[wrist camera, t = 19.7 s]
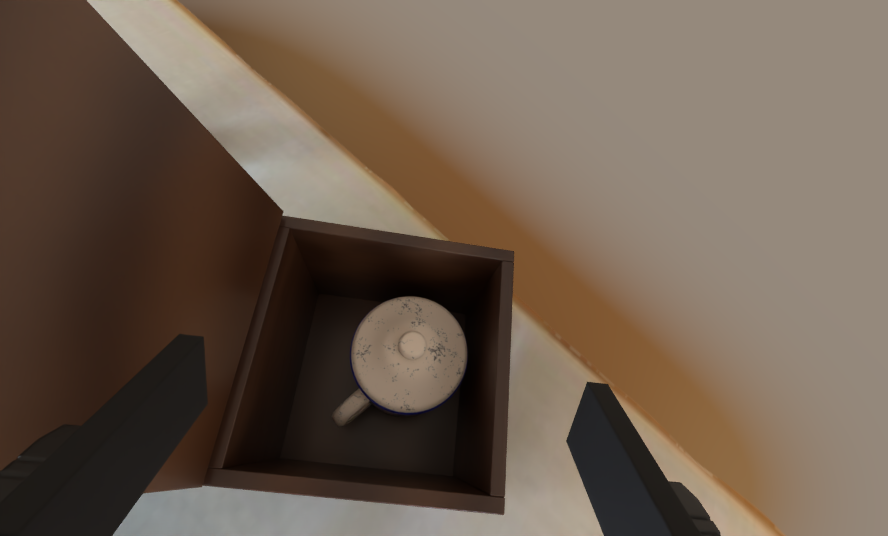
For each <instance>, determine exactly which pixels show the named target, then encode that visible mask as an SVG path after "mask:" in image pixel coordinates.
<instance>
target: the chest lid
mask: <svg viewBox="0 0 888 536" xmlns="http://www.w3.org/2000/svg"><path fill="white" fill-rule="evenodd" d="M282 215H283V211H282V210H281V208H280V207H279V206H278V205H277V204H276V203H275V202H274V201H273V200H272V199H271V198H270V197H269V196H268V195H267V193H266V192H265V191H264V190H263V189H262V188H261V187H260V186H259V185H258V184H257V183H256V182H255V181H254V180H253V178H252V177H251V176H250V175H249V174H248V173H247V172H246V171H245V170H244V169H243V168H242V167H241V166H240V165H239V163H238V162H237V161H236V160H235V159H234V158H233V157H232V156H231V155H230V154H229V153H228V152H227V151H226V149H225V148H224V147H223V146H222V145H221V144H220V143H219V142H218V141H217V140H216V139H215V138H214V137H213V136H212V134H211V133H210V132H209V131H208V130H207V129H206V128H205V127H204V126H203V125H202V124H201V123H200V122H199V121H198V119H197V118H196V117H195V116H194V115H193V114H192V113H191V112H190V111H189V110H188V109H187V108H186V107H185V106H184V104H183V103H182V102H181V101H180V100H179V99H178V98H177V97H176V96H175V95H174V94H173V93H172V92H171V91H170V89H169V88H168V87H167V86H166V85H165V84H164V83H163V82H162V81H161V80H160V79H159V78H158V77H157V75H156V74H155V73H154V72H153V71H152V70H151V69H150V68H149V67H148V66H147V65H146V64H145V63H144V62H143V60H142V59H141V58H140V57H139V56H138V55H137V54H136V53H135V52H134V51H133V50H132V49H131V48H130V47H129V45H128V44H127V43H126V42H125V41H124V40H123V39H122V38H121V37H120V36H119V35H118V34H117V33H116V32H115V30H114V29H113V28H112V27H111V26H110V25H109V24H108V23H107V22H106V21H105V20H104V19H103V18H102V17H101V15H100V14H99V13H98V12H97V11H96V10H95V9H94V8H93V7H92V6H91V5H90V4H89V3H88V2H87V0H0V471H1V470H3V469H4V468H5V467H6V466H7V465H8V464H10V463H11V462H12V461H13V460H16V459H17V457H18V456H19V455H20V454H21V453H22V452H23V451H24V450H26V449H27V448H28V447H29V446H30V445H31V444H33V443H34V442H35V441H36V440H37V439H38V438H40V437H42V436H44V435H46V434H47V433H49V432H51V431H53V430H55V429H57V428H58V427H60V426H62V425H64V424H69V425H79V426H82V425H83V424H84V423H85V422H86V421H87V420H88V419H89V418H90V417H91V416H92V415H94V414H95V413H96V412H97V411H98V410H99V409H100V408H101V407H102V406H103V405H104V404H105V403H106V402H107V401H108V400H109V399H111V398H112V397H113V396H114V395H115V394H116V393H117V392H118V391H119V390H120V389H121V388H122V387H123V386H124V385H125V384H126V383H128V382H129V381H130V380H131V379H132V378H133V377H134V376H135V375H136V374H137V373H138V372H139V371H140V370H141V369H142V368H143V367H145V366H146V365H147V364H148V363H149V362H150V361H151V360H152V359H153V358H154V357H155V356H156V355H157V354H158V353H159V352H161V351H162V350H163V349H164V348H165V347H166V346H167V345H168V344H169V343H170V342H171V341H172V340H173V339H174V338H175V337H176V336H178V335H179V334H186V335H194V336H203V337H204V347H205V364H206V380H207V396H208V404H207V406H206V407H205V408H204V410H203V411H202V413H201V414H200V415H199V417H198V418H197V419H196V421H195V422H194V424H193V425H192V426H191V428H190V429H189V430H188V432H187V433H186V435H185V436H184V437H183V439H182V440H181V441H180V443H179V444H178V446H177V447H176V448H175V450H174V451H173V452H172V454H171V455H170V457H169V458H168V459H167V461H166V462H165V463H164V465H163V466H162V468H161V469H160V470H159V472H158V473H157V474H156V476H155V477H154V479H153V480H152V481H151V483H150V484H149V486H148V487H147V488H146V490H145V491H144V492H143V493H151V492H160V491H170V490H179V489H188V488H198V487H202V485H203V482H204V478H205V475H206V471H207V468H208V465H209V461H210V458H211V455H212V451H213V448H214V444H215V441H216V438H217V434H218V431H219V428H220V424H221V421H222V417H223V414H224V411H225V407H226V404H227V400H228V397H229V394H230V390H231V387H232V384H233V380H234V377H235V373H236V370H237V367H238V363H239V360H240V357H241V353H242V350H243V346H244V343H245V340H246V336H247V333H248V329H249V326H250V323H251V319H252V316H253V313H254V309H255V306H256V302H257V299H258V296H259V292H260V289H261V286H262V282H263V279H264V275H265V272H266V269H267V265H268V262H269V259H270V255H271V252H272V248H273V245H274V242H275V238H276V235H277V231H278V228H279V225H280V221H281V218H282Z"/></svg>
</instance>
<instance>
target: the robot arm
mask: <svg viewBox="0 0 888 536" xmlns="http://www.w3.org/2000/svg"><path fill="white" fill-rule="evenodd" d="M207 404H208V396H207V380H206V364H205V347H204V337H203V336H194V335H186V334H179V335H178V336H176V337H175V338H174V339H173V340H172V341H171V342H170V343H169V344H168V345H167V346H166V347H165V348H164V349H163V350H162V351H161V352H159V353H158V354H157V355H156V356H155V357H154V358H153V359H152V360H151V361H150V362H149V363H148V364H147V365H146V366H145V367H143V368H142V369H141V370H140V371H139V372H138V373H137V374H136V375H135V376H134V377H133V378H132V379H131V380H130V381H129V382H128V383H126V384H125V385H124V386H123V387H122V388H121V389H120V390H119V391H118V392H117V393H116V394H115V395H114V396H113V397H112V398H111V399H109V400H108V401H107V402H106V403H105V404H104V405H103V406H102V407H101V408H100V409H99V410H98V411H97V412H96V413H95V414H94V415H92V416H91V417H90V418H89V419H88V420H87V421H86V422H85V423H84V424H83V425H82V426H79V425H69V424H64V425H62V426H60V427H58V428H57V429H55V430H53V431H51V432H49V433H47V434H46V435H44V436H42V437H40V438H38V439H37V440H36V441H35V442H34V443H33V444H31V445H30V446H29V447H28V448H27V449H26V450H24V451H23V452H22V453H21V454H20V455H19V456H18V457H17V459H16V460H13V461H12V462H11V463H10V464H8V465H7V466H6V467H5V468H4V469H3V470H1V471H0V536H112V535H113V534H114V532H115V531H116V530H117V528H118V527H119V525H120V524H121V523H122V521H123V520H124V519H125V517H126V516H127V514H128V513H129V512H130V510H131V509H132V508H133V506H134V505H135V503H136V502H137V501H138V499H139V498H140V497H141V495H142V494H143V492H144V491H145V490H146V488H147V487H148V486H149V484H150V483H151V481H152V480H153V479H154V477H155V476H156V474H157V473H158V472H159V470H160V469H161V468H162V466H163V465H164V463H165V462H166V461H167V459H168V458H169V457H170V455H171V454H172V452H173V451H174V450H175V448H176V447H177V446H178V444H179V443H180V441H181V440H182V439H183V437H184V436H185V435H186V433H187V432H188V430H189V429H190V428H191V426H192V425H193V424H194V422H195V421H196V419H197V418H198V417H199V415H200V414H201V413H202V411H203V410H204V408H205V407H206V406H207ZM566 441H567V444H568V446H569V449H570V451H571V454H572V456H573V459H574V461H575V464H576V466H577V469H578V471H579V474H580V477H581V479H582V482H583V484H584V487H585V489H586V492H587V494H588V497H589V499H590V502H591V504H592V507H593V509H594V512H595V514H596V517H597V519H598V522H599V524H600V527H601V529H602V532H603V534H604V536H721V535H720V531H719V530H718V528H717V527H716V525H715V524H714V522H713V521H711V520H710V516H709V515H708V513H707V512H706V510H705V509H704V507H703V506H702V504H701V503H700V502H699V500H698V499H697V498H696V497H695V496H694V495H693V494H692V493H691V492H690V491H689V490H688V489H687V488H686V487H685V486H684V485H683V484H682V483H680V482H669V481H668V480H667V479H666V477H665V475H664V474H663V472H662V471H661V469H660V467H659V466H658V464H657V463H656V461H655V459H654V458H653V456H652V455H651V453H650V451H649V450H648V448H647V447H646V445H645V443H644V442H643V440H642V439H641V437H640V435H639V434H638V432H637V430H636V429H635V427H634V426H633V424H632V422H631V421H630V419H629V418H628V416H627V414H626V413H625V411H624V410H623V408H622V406H621V405H620V403H619V402H618V400H617V398H616V397H615V395H614V394H613V392H612V390H611V389H610V387H609V385H608V384H601V383H593V382H587V384H586V387H585V390H584V392H583V395H582V398H581V401H580V404H579V407H578V409H577V412H576V415H575V418H574V421H573V423H572V426H571V429H570V432H569V435H568V437H567V440H566Z"/></svg>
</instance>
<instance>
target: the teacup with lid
mask: <svg viewBox="0 0 888 536" xmlns="http://www.w3.org/2000/svg"><path fill="white" fill-rule="evenodd" d="M467 364H468V346H467V341H466V338H465V335H464V332H463V330H462V328H461V326H460V324H459V323H458V321H457V320H456V319H455V317H454V316H453V315H452V314H451V313H450V312H449V311H448V310H447V309H445V308H444V307H443V306H441V305H439V304H438V303H436V302H434V301H431V300H429V299H426V298H422V297H415V296H403V297H397V298H393V299H390V300H387V301H385V302H383V303H381V304H379V305H377V306H376V307H375V308H373V309H372V310H371V311H370V312H368V314H367V315H366V316H365V317H364V318H363V319H362V320H361V322H360V323H359V325H358V327H357V329H356V330H355V333H354V335H353V338H352V342H351V347H350V365H351V370H352V374H353V377H354V379H355V381H356V383H357V385H358V387H359V389H358V390H357V391H355V392H354V393H353V394H352V395H351V396H349V397H348V398H347V399H346V400H345V401H344V402H343V403H342V404H341V405H340V406H339V407H338V408H337V409H336V410H335V411H334V412H333V414H332V420H333V421H334V423H335V424H336V425H337V426H338V427H342V426H345V425H346V424H348V423H349V422H351V421H352V420H354V419H355V418H356V417H357V416H359V415H360V414H361V413H362V412H363V411H365V410H366V409H367V408H368V407H369V406H370V405H371V404H373V405H374V406H375V407H376V408H378V409H379V410H381V411H383V412H385V413H387V414H390V415H393V416H399V417H409V416H414V415H418V414H422V413H425V412H429V411H431V410H433V409H435V408H437V407H439V406H441V405H442V404H444V403H445V402H446V401H447V400H449V399H450V398H451V397H452V396H453V394H454V393H455V392H456V391H457V389H458V388H459V386H460V385H461V383H462V381H463V378H464V376H465V373H466V369H467Z"/></svg>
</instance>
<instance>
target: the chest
mask: <svg viewBox="0 0 888 536" xmlns="http://www.w3.org/2000/svg"><path fill="white" fill-rule="evenodd" d="M513 262H514V251H508V250H502V249H496V248H489V247H482V246H476V245H470V244H463V243H457V242H450V241H444V240H437V239H431V238H424V237H418V236H411V235H405V234H398V233H392V232H385V231H379V230H372V229H366V228H359V227H353V226H347V225H340V224H334V223H327V222H321V221H314V220H308V219H301V218H295V217H288V216H282V218H281V221H280V225H279V228H278V231H277V235H276V238H275V242H274V245H273V248H272V252H271V255H270V259H269V262H268V265H267V269H266V272H265V275H264V279H263V282H262V286H261V289H260V292H259V296H258V299H257V302H256V306H255V309H254V313H253V316H252V319H251V323H250V326H249V329H248V333H247V336H246V340H245V343H244V346H243V350H242V353H241V357H240V360H239V363H238V367H237V370H236V373H235V377H234V380H233V384H232V387H231V390H230V394H229V397H228V400H227V404H226V407H225V411H224V414H223V417H222V421H221V424H220V428H219V431H218V434H217V438H216V441H215V444H214V448H213V451H212V455H211V458H210V461H209V465H208V468H207V471H206V475H205V478H204V482H203V485H202V486H212V487H223V488H233V489H243V490H253V491H263V492H274V493H284V494H294V495H304V496H314V497H325V498H335V499H345V500H355V501H366V502H376V503H386V504H396V505H406V506H417V507H427V508H437V509H447V510H457V511H468V512H478V513H488V514H498V515H504V506H505V498H504V496H505V479H506V453H507V427H508V401H509V375H510V349H511V323H512V297H513V271H514V263H513ZM403 296H415V297H422V298H426V299H429V300H431V301H434V302H436V303H438V304H439V305H441V306H443V307H444V308H445V309H447V310H448V311H449V312H450V313H451V314H452V315H453V316H454V317H455V319H456V320H457V321H458V323H459V324H460V326H461V328H462V330H463V332H464V335H465V338H466V341H467V346H468V364H467V369H466V373H465V376H464V378H463V381H462V383H461V385H460V386H459V388H458V389H457V391H456V392H455V393H454V394H453V396H452V397H451V398H450V399H449V400H447V401H446V402H445V403H444V404H442V405H441V406H439V407H437V408H435V409H433V410H431V411H429V412H425V413H422V414H418V415H414V416H409V417H399V416H393V415H390V414H387V413H385V412H383V411H381V410H379V409H378V408H376V407H375V406H374V405H373V404H371V405H370V406H369V407H368V408H367V409H366V410H365V411H363V412H362V413H361V414H360V415H359V416H357V417H356V418H355V419H354V420H352V421H351V422H349V423H348V424H346V425H345V426H342V427H338V426H337V425H336V424H335V423H334V421H333V420H332V414H333V412H334V411H335V410H336V409H337V408H338V407H339V406H340V405H341V404H342V403H343V402H344V401H345V400H346V399H347V398H348V397H349V396H351V395H352V394H353V393H354V392H355V391H357V390H358V389H359V387H358V385H357V383H356V381H355V379H354V377H353V374H352V370H351V365H350V347H351V342H352V338H353V335H354V333H355V330H356V329H357V327H358V325H359V323H360V322H361V320H362V319H363V318H364V317H365V316H366V315H367V314H368V312H370V311H371V310H372V309H373V308H375V307H376V306H377V305H379V304H381V303H383V302H385V301H387V300H390V299H393V298H397V297H403Z"/></svg>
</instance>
